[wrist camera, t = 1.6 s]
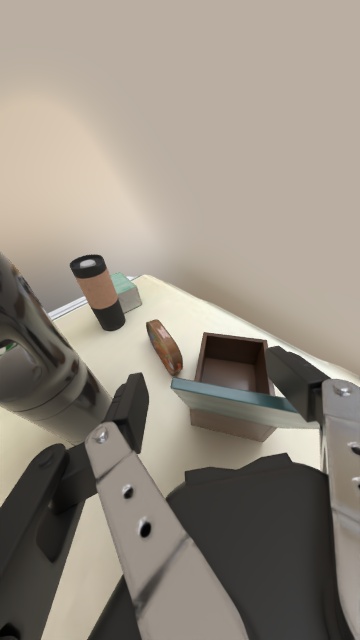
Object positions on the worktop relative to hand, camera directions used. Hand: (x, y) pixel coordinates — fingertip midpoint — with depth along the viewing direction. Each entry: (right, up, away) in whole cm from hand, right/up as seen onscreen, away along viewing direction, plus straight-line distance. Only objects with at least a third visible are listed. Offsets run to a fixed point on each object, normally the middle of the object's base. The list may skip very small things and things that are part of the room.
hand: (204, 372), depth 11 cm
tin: (-5, -6, +34) cm, 35 cm away
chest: (+8, -12, +26) cm, 29 cm away
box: (-21, +10, +52) cm, 57 cm away
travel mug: (-22, +2, +44) cm, 49 cm away
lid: (+5, -6, +7) cm, 10 cm away
